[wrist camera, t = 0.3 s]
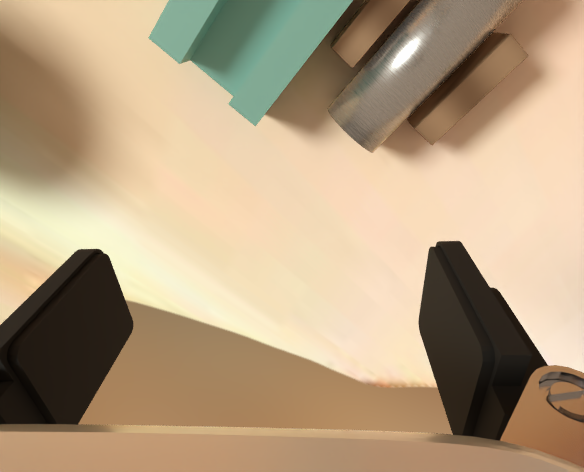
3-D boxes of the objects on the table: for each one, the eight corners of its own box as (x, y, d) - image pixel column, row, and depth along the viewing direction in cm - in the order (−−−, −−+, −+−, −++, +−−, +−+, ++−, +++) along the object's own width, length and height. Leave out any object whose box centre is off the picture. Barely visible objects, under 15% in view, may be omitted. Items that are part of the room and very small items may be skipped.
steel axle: (481, -76, 30) (511, -99, 25) (527, -19, 31) (565, -29, 26) (328, 103, 38) (326, 114, 32) (371, 143, 39) (375, 159, 34)
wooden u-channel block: (414, -62, 30) (425, -70, 27) (509, 51, 34) (528, 55, 31) (330, 45, 34) (331, 48, 31) (423, 135, 38) (432, 145, 35)
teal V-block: (259, -123, 29) (248, -147, 25) (360, -15, 32) (367, -19, 28) (169, 35, 35) (148, 38, 31) (262, 113, 38) (255, 126, 34)
